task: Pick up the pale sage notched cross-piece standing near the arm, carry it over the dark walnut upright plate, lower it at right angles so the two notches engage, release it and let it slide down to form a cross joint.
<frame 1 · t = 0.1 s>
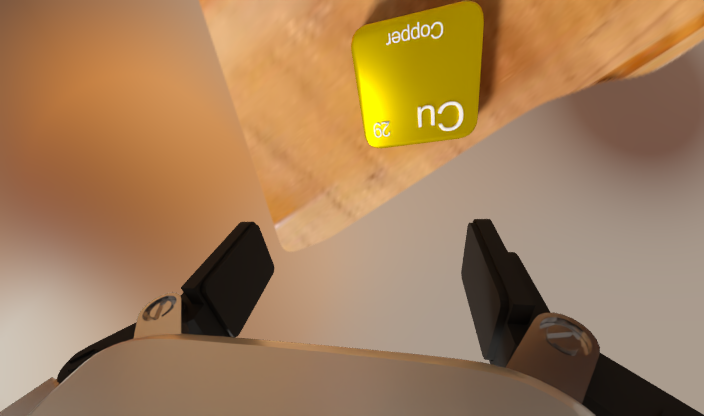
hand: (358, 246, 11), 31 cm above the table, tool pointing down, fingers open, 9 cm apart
element tile: (414, 82, 36), on the table
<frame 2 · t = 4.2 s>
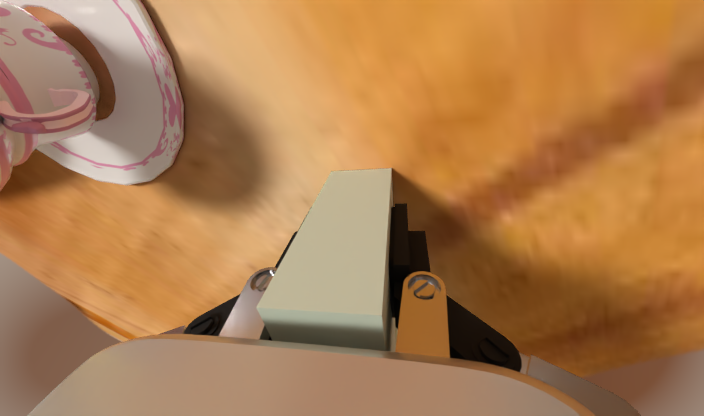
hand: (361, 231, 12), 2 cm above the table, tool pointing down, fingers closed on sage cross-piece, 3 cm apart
teacup: (73, 68, 12), on the table
sage cross-piece: (372, 277, 16), on the table, touching gripper
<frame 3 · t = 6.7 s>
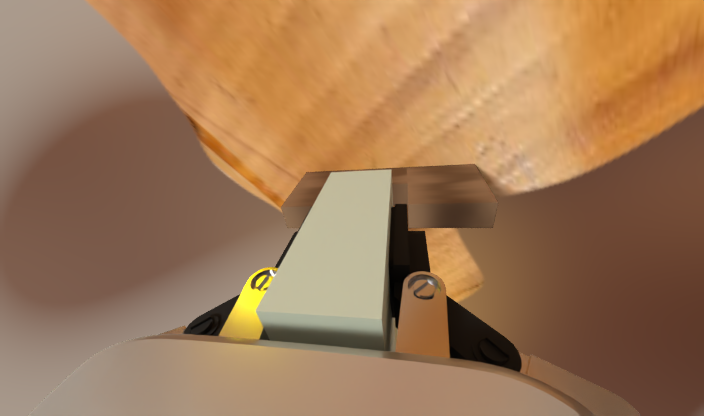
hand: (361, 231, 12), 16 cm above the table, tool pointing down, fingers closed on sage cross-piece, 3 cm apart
walnut upright plate: (385, 178, 28), on the table
sage cross-piece: (372, 278, 16), point 14 cm above the table, touching gripper
when the fingers open (3 cm above the table, at t = 9.3 s): sage cross-piece drops 1 cm, on the table.
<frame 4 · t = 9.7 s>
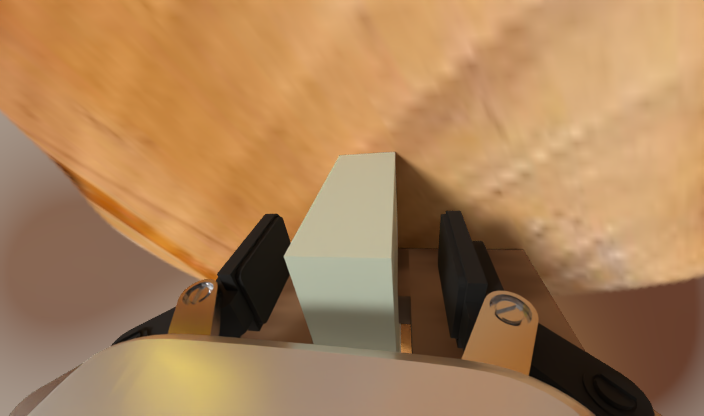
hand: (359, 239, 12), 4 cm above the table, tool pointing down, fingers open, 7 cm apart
walnut upright plate: (374, 261, 18), on the table
sage cross-piece: (376, 258, 17), on the table
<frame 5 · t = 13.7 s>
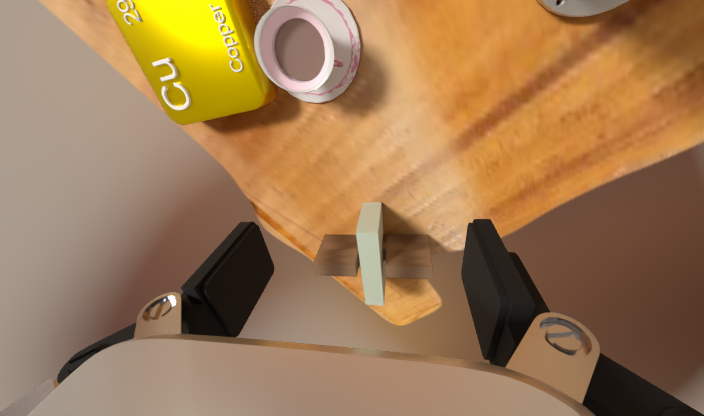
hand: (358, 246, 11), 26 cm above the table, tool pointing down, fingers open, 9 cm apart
element tile: (211, 51, 33), on the table
teacup: (312, 49, 31), on the table
walnut upright plate: (374, 240, 45), on the table
sage cross-piece: (375, 238, 45), on the table
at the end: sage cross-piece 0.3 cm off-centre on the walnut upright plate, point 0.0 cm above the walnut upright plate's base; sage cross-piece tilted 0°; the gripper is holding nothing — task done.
